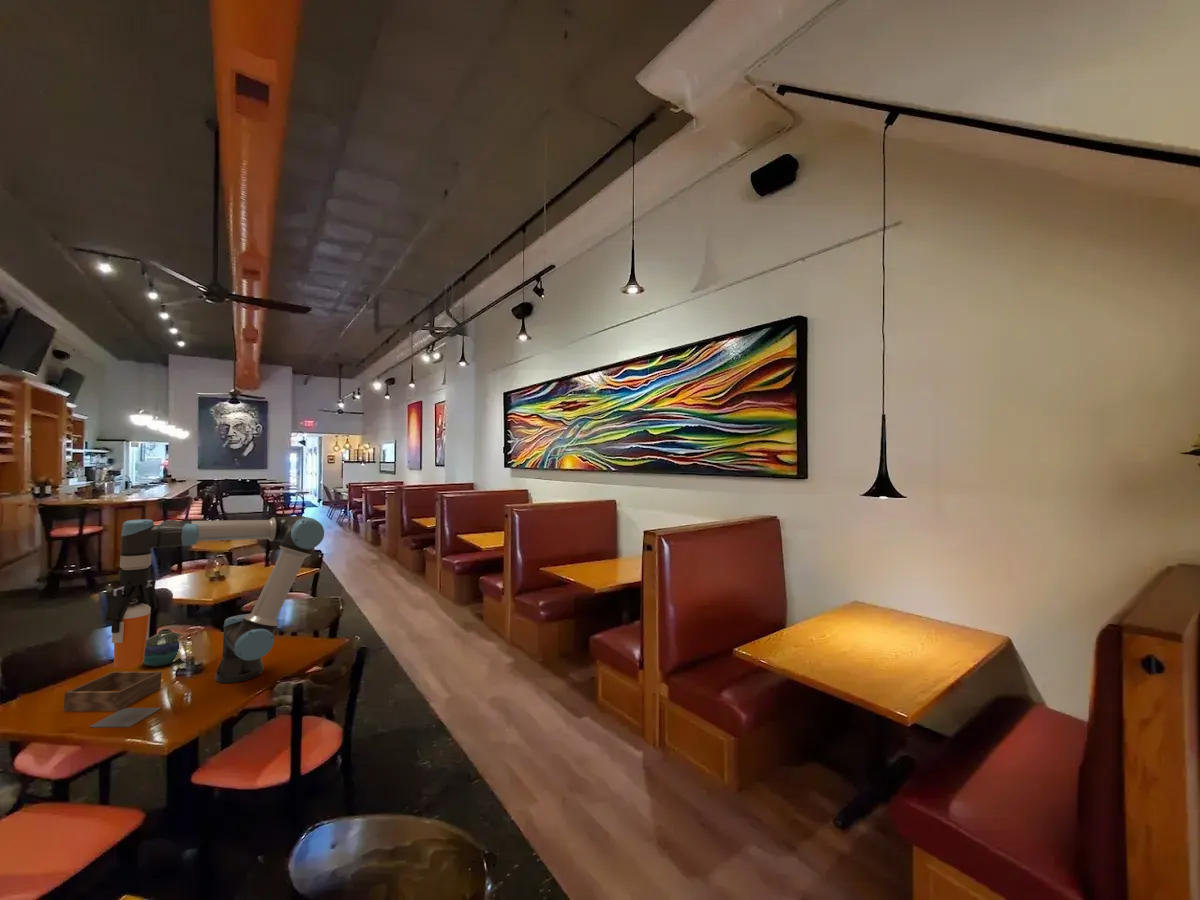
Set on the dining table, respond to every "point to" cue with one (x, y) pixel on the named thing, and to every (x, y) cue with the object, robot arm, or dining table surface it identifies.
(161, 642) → the vase
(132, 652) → the shaker bottle
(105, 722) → the slate board
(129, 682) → the square wooden frame
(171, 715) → the dining table surface
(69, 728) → the dining table surface
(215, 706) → the dining table surface
